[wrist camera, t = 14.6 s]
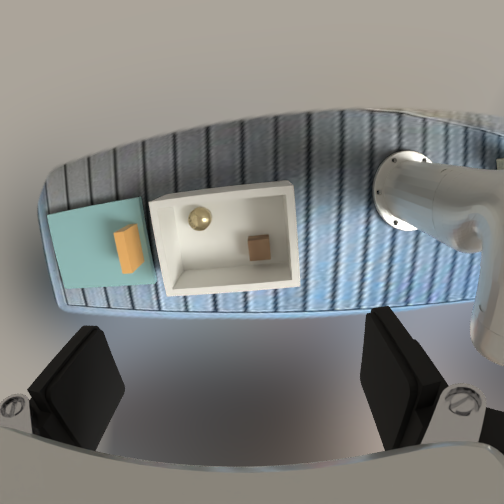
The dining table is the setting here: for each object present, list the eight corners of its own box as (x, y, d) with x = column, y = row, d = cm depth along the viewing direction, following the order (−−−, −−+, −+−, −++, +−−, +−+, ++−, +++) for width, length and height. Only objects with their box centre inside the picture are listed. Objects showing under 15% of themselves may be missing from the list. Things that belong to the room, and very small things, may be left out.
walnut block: (268, 234, 45) (269, 238, 42) (270, 253, 46) (271, 259, 43) (248, 236, 45) (247, 240, 43) (250, 255, 46) (249, 261, 44)
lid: (144, 195, 45) (124, 203, 38) (159, 277, 49) (144, 297, 42) (55, 212, 46) (29, 221, 39) (72, 283, 50) (50, 300, 43)
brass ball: (210, 204, 44) (207, 206, 42) (213, 226, 45) (212, 229, 43) (188, 208, 44) (186, 210, 42) (193, 229, 45) (190, 232, 43)
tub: (287, 180, 43) (293, 185, 36) (294, 265, 47) (300, 286, 40) (167, 194, 44) (148, 202, 37) (180, 274, 48) (166, 296, 41)
